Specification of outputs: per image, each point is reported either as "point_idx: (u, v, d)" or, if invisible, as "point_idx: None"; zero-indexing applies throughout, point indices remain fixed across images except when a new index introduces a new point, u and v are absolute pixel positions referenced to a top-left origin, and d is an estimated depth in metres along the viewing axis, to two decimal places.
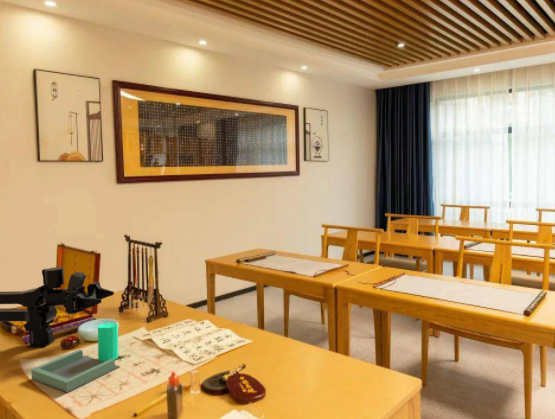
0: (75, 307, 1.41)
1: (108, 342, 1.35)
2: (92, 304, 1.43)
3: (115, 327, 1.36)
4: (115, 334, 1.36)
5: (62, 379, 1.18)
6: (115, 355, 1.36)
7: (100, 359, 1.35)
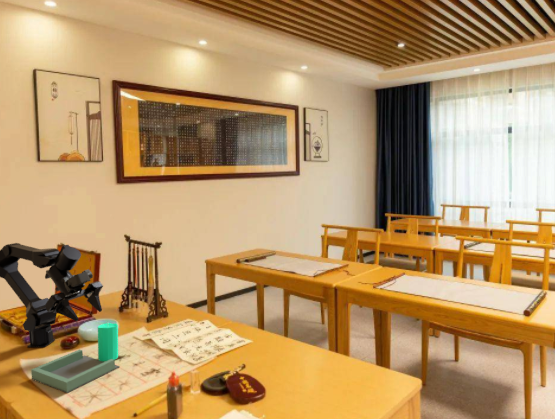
0: (54, 308, 1.35)
1: (108, 342, 1.35)
2: (69, 316, 1.36)
3: (115, 327, 1.36)
4: (115, 334, 1.36)
5: (62, 379, 1.18)
6: (115, 355, 1.36)
7: (100, 359, 1.35)
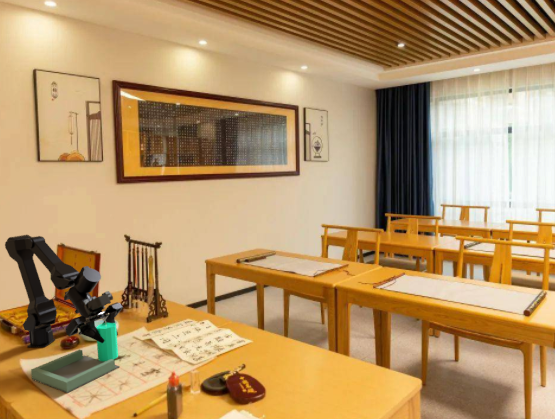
0: (80, 330, 1.33)
1: (107, 342, 1.34)
2: (95, 338, 1.34)
3: (113, 327, 1.36)
4: (114, 334, 1.36)
5: (62, 379, 1.18)
6: (115, 354, 1.36)
7: (100, 359, 1.35)
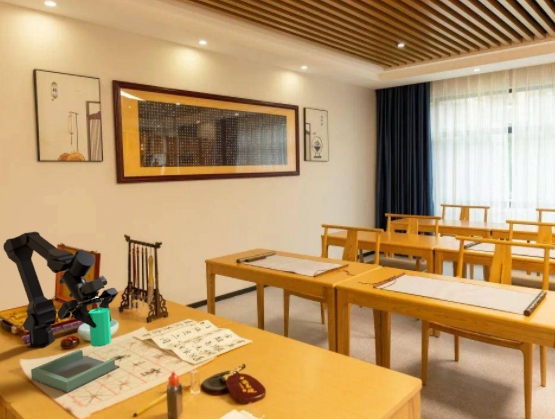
0: (72, 314, 1.31)
1: (99, 327, 1.32)
2: (87, 322, 1.32)
3: (106, 312, 1.33)
4: (106, 319, 1.33)
5: (62, 379, 1.18)
6: (107, 340, 1.34)
7: (92, 344, 1.33)
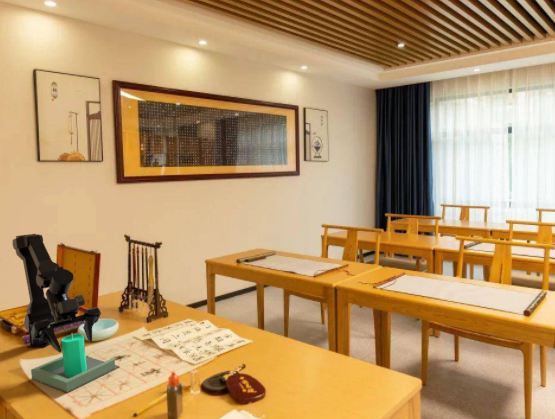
0: (39, 335, 1.25)
1: (69, 356, 1.25)
2: (53, 346, 1.24)
3: (77, 341, 1.25)
4: (77, 348, 1.25)
5: (62, 379, 1.18)
6: (79, 370, 1.26)
7: (65, 373, 1.26)
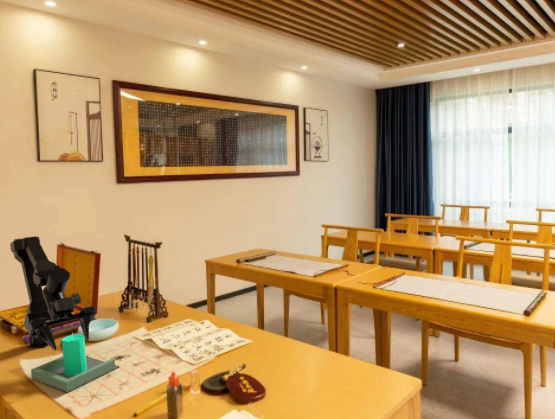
0: (35, 333, 1.27)
1: (70, 356, 1.25)
2: (49, 344, 1.26)
3: (77, 341, 1.25)
4: (78, 348, 1.26)
5: (62, 379, 1.18)
6: (79, 370, 1.26)
7: (65, 373, 1.26)
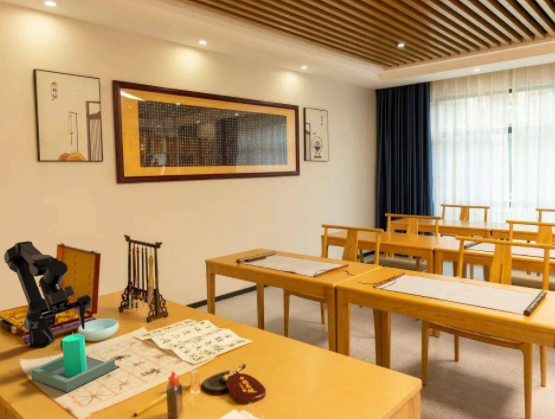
0: (33, 325, 1.33)
1: (70, 356, 1.25)
2: (46, 334, 1.32)
3: (77, 341, 1.25)
4: (78, 348, 1.26)
5: (62, 379, 1.18)
6: (79, 370, 1.26)
7: (65, 373, 1.26)
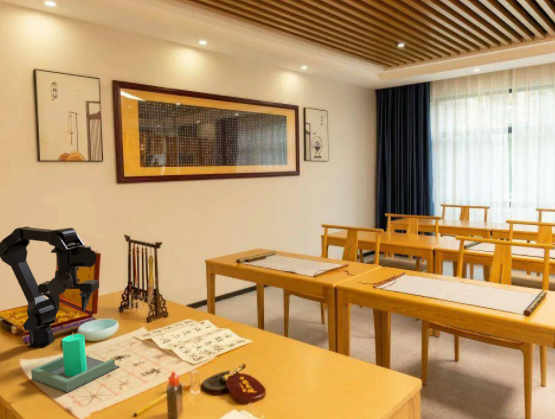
0: None
1: (70, 356, 1.25)
2: None
3: (77, 341, 1.25)
4: (78, 348, 1.26)
5: (62, 379, 1.18)
6: (79, 370, 1.26)
7: (65, 373, 1.26)
